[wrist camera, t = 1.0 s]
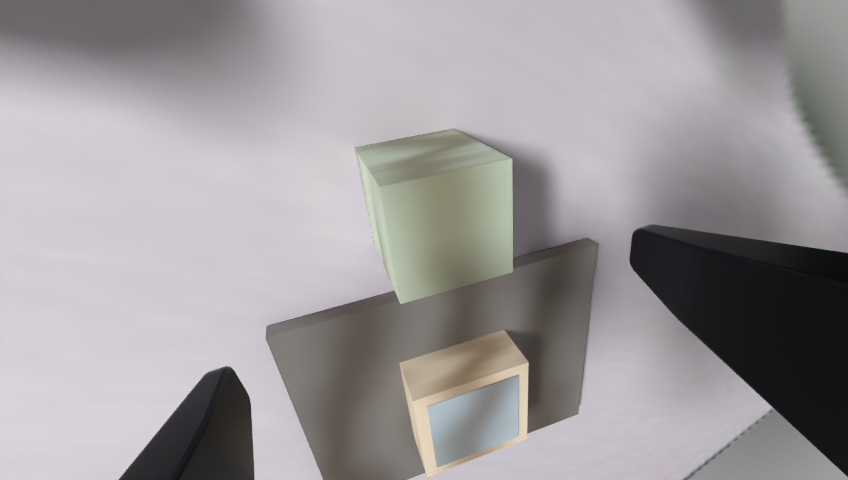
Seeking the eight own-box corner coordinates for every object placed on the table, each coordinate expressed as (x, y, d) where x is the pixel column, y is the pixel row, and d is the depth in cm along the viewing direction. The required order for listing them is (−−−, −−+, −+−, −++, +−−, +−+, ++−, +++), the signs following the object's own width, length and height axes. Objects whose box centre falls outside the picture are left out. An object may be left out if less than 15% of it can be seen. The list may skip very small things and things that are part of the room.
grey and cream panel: (586, 237, 25) (635, 269, 22) (570, 404, 33) (604, 447, 29) (266, 326, 21) (262, 382, 17) (333, 493, 29) (339, 556, 25)
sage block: (453, 128, 19) (512, 158, 14) (460, 218, 22) (512, 272, 17) (354, 147, 18) (379, 187, 13) (373, 239, 21) (400, 304, 16)
